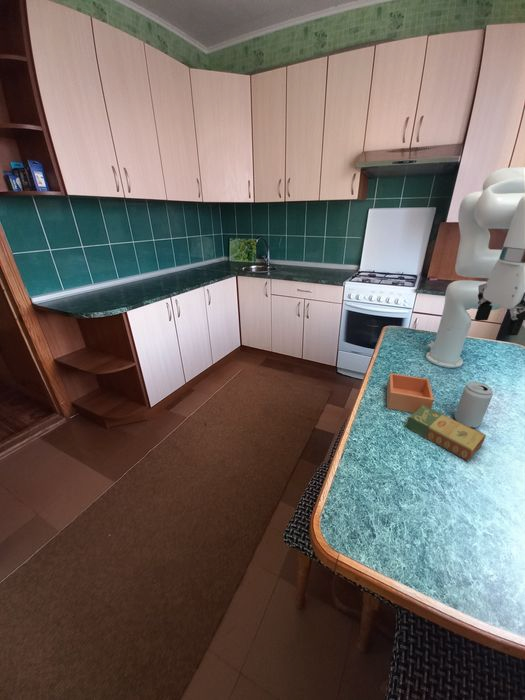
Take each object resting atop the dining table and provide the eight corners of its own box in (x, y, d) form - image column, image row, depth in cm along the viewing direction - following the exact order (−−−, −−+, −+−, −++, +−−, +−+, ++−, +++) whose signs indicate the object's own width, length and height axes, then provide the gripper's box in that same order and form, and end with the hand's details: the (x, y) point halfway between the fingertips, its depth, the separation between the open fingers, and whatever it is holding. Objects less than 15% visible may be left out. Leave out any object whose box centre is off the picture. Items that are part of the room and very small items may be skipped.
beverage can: (484, 430, 80) (499, 395, 74) (458, 427, 81) (471, 392, 76) (473, 415, 86) (487, 381, 80) (450, 413, 87) (461, 379, 81)
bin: (386, 387, 99) (389, 372, 96) (424, 394, 95) (428, 378, 93) (387, 408, 89) (390, 392, 87) (429, 416, 86) (434, 399, 83)
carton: (468, 462, 70) (473, 450, 69) (405, 427, 82) (408, 415, 80) (481, 446, 75) (486, 434, 73) (419, 414, 86) (423, 403, 84)
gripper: (576, 262, 57) (539, 341, 65) (507, 250, 72) (484, 314, 80) (538, 263, 57) (506, 342, 65) (477, 250, 72) (457, 315, 80)
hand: (494, 327), depth 72 cm, fingers open, 9 cm apart
